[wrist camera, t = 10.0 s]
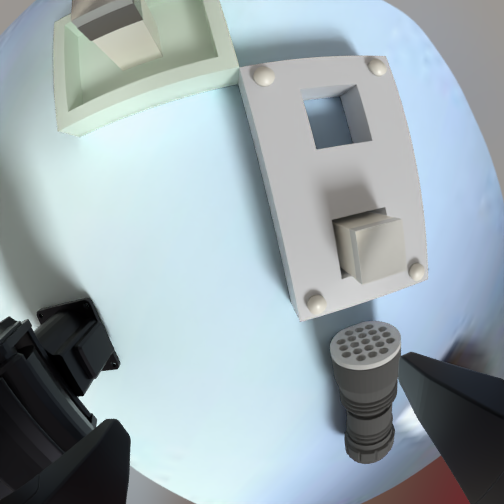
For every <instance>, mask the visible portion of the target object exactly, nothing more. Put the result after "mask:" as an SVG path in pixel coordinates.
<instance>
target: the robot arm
mask: <svg viewBox="0 0 504 504" xmlns="http://www.w3.org/2000/svg"><path fill="white" fill-rule="evenodd" d="M85 303H87V304H88V306H89V307H88V306H86V304H85ZM41 314H42V315H43V316H42V315H41ZM37 317H38V319H39V321H40V324H41V326H39V327H38V328H37V329H36V330H35V331H33V330H32V328H31V327H32V325H31V323H30V321H29V320H28V319H27V320H24V321H22V322H21V321H15V320H14V319H12V318H11V317H10V316H9V317H7V318H5V319H4V320H2V321H1V322H0V504H126V499H127V491H128V483H129V470H130V468H129V467H130V445H131V440H130V436H129V434H128V433H127V431H126V430H125V429H124V427H123V426H122V424H121V423H120V422H119V421H118V420H117V419H106V420H104V421H103V422H102V423H101V424H100V425H98V426H97V427H96V424H97V419H96V417H95V416H94V415H93V414H92V413H90V412H89V411H88V410H87V408H86V407H85V406H84V405H83V403H82V402H81V401H80V400H79V398H78V397H79V396H84V394H85V393H86V391H87V390H88V388H89V386H90V385H91V383H92V381H93V380H94V379H96V378H97V377H98V375H99V373H100V372H101V371H106V370H115V369H118V368H119V366H120V361H119V359H118V357H117V355H116V353H115V351H114V347H113V345H112V343H111V341H110V339H109V337H108V335H107V333H106V330H105V328H104V326H103V324H102V323H101V321H100V319H99V316H98V314H97V312H96V309H95V307H94V304H93V302H92V300H90V299H89V298H84V299H80V300H76V301H71V302H67V303H63V304H59V305H55V306H51V307H47V308H43V309H40V310H39V311H38V312H37ZM113 362H114V363H115V364H114V363H113ZM398 379H399V382H400V385H401V386H402V388H403V390H404V392H405V394H406V396H407V398H408V400H409V402H410V404H411V406H412V408H413V410H414V413H415V414H416V416H417V418H418V420H419V421H420V423H421V425H422V426H423V428H424V429H425V431H426V432H427V434H428V435H429V437H430V438H431V440H432V442H433V443H434V445H435V446H436V448H437V449H438V451H439V452H440V454H441V456H442V457H443V459H444V460H445V462H446V463H447V465H448V467H449V468H450V470H451V472H452V473H453V475H454V477H455V478H456V480H457V481H458V483H459V485H460V487H461V488H462V490H463V492H464V493H465V495H466V497H467V499H468V500H469V502H470V504H504V380H503V379H501V378H498V377H494V376H490V375H487V374H483V373H480V372H476V371H473V370H469V369H466V368H462V367H459V366H456V365H452V364H449V363H446V362H443V361H439V360H436V359H433V358H430V357H427V356H423V355H420V354H417V353H414V352H409V353H407V354H404V355H402V356H401V357H400V358H399V368H398Z"/></svg>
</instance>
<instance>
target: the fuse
mask: <svg viewBox="0 0 504 504" xmlns="http://www.w3.org/2000/svg"><path fill="white" fill-rule="evenodd" d="M332 224H333V230H334V235H335V241H336V247H337V253H338V259H339V265H340V267H341V268H342V269H344V270H345V271H346V272H347V273H349V274H350V275H351V276H352V277H354V278H355V279H356V280H357V281H358V282H359V283H360V284H362V285H364V284H367V283H370V282H373V281H377V280H380V279H383V278H386V277H389V276H392V275H395V274H398V273H400V272H403V271H406V270H407V264H406V251H405V240H404V230H403V221H402V219H400V218H396V217H390V216H386V215H382V214H377V213H373V212H369V211H366V212H362V213H358V214H354V215H350V216H346V217H341V218H337V219H333V220H332Z"/></svg>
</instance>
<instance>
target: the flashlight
mask: <svg viewBox="0 0 504 504" xmlns="http://www.w3.org/2000/svg"><path fill="white" fill-rule="evenodd" d="M330 352H331V358H332V364H333V370H334V376H335V380H336V382H337V384H338V386H339V391H340V399H341V403H342V405H343V406H344V407H345V408H346V412H347V421H346V426H347V430H346V432H345V448H346V453H347V454H348V455H349V457H350V458H352V459H353V460H354V461H356V462H358V463H362V464H370V463H374V462H377V461H379V460H381V459H382V458H383V457H384V456H386V455H387V454H388V452H389V451H390V450H391V448H392V446H393V442H394V434H395V429H394V426H393V424H392V421H393V416H392V402H393V401H394V399H395V397H396V395H397V382H398V381H397V379H398V368H399V358H400V357H401V335H400V333H399V331H398V330H397V329H396V328H395V327H394V326H392V325H390V324H388V323H385V322H380V321H365V322H361V323H359V324H356V325H353V326H351V327H348V328H345V329H342V330H341V331H340V332H338V333H337V334H336V335H335V336H334V337H333V339H332V341H331V343H330Z"/></svg>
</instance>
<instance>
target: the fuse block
mask: <svg viewBox="0 0 504 504" xmlns="http://www.w3.org/2000/svg"><path fill="white" fill-rule="evenodd" d="M238 85H239V89H240V93H241V96H242V100H243V104H244V108H245V111H246V115H247V119H248V123H249V126H250V130H251V134H252V138H253V142H254V146H255V150H256V154H257V158H258V162H259V166H260V170H261V174H262V178H263V182H264V186H265V190H266V194H267V198H268V202H269V207H270V211H271V215H272V219H273V224H274V228H275V232H276V236H277V241H278V245H279V250H280V254H281V258H282V263H283V267H284V272H285V276H286V281H287V286H288V290H289V295H290V299H291V304H292V306H293V308H294V310H295V312H296V314H297V316H298V318H299V320H300V322H302V321H306V320H309V319H313V318H316V317H319V316H323V315H326V314H329V313H333V312H336V311H339V310H342V309H346V308H349V307H352V306H355V305H358V304H361V303H364V302H367V301H370V300H373V299H376V298H379V297H382V296H384V295H387V294H390V293H393V292H396V291H398V290H401V289H404V288H407V287H409V286H412V285H415V284H417V283H420V282H422V281H425V280H427V279H428V260H427V243H426V230H425V220H424V211H423V203H422V195H421V189H420V182H419V176H418V170H417V165H416V160H415V155H414V150H413V145H412V141H411V137H410V132H409V128H408V124H407V121H406V117H405V113H404V110H403V106H402V103H401V99H400V96H399V93H398V90H397V86H396V83H395V80H394V77H393V75H392V72H391V69H390V66H389V63H388V61H387V58H386V56H327V57H312V58H301V59H291V60H283V61H275V62H268V63H262V64H255V65H250V66H244V67H239V79H238ZM331 97H340V98H341V101H342V105H343V108H344V112H345V115H346V119H347V123H348V126H349V130H350V134H351V138H352V142H353V144H347V145H341V146H335V147H329V148H323V149H317V150H316V146H315V142H314V138H313V134H312V131H311V127H310V123H309V120H308V116H307V112H306V109H305V105H304V102H303V101H306V100H313V99H321V98H331ZM366 211H369V212H373V213H377V214H382V215H386V216H390V217H396V218H400V219H402V221H403V230H404V240H405V251H406V264H407V270H406V271H403V272H400V273H398V274H395V275H392V276H389V277H386V278H383V279H380V280H377V281H373V282H370V283H367V284H364V285H362V284H360V283H359V282H358V281H357V280H356V279H355V278H354V277H352V276H351V275H350V274H349V273H347V272H346V271H345V270H344V269H342V268H341V267H340V265H339V259H338V253H337V247H336V241H335V235H334V230H333V224H332V220H333V219H337V218H341V217H346V216H350V215H354V214H358V213H362V212H366Z"/></svg>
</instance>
